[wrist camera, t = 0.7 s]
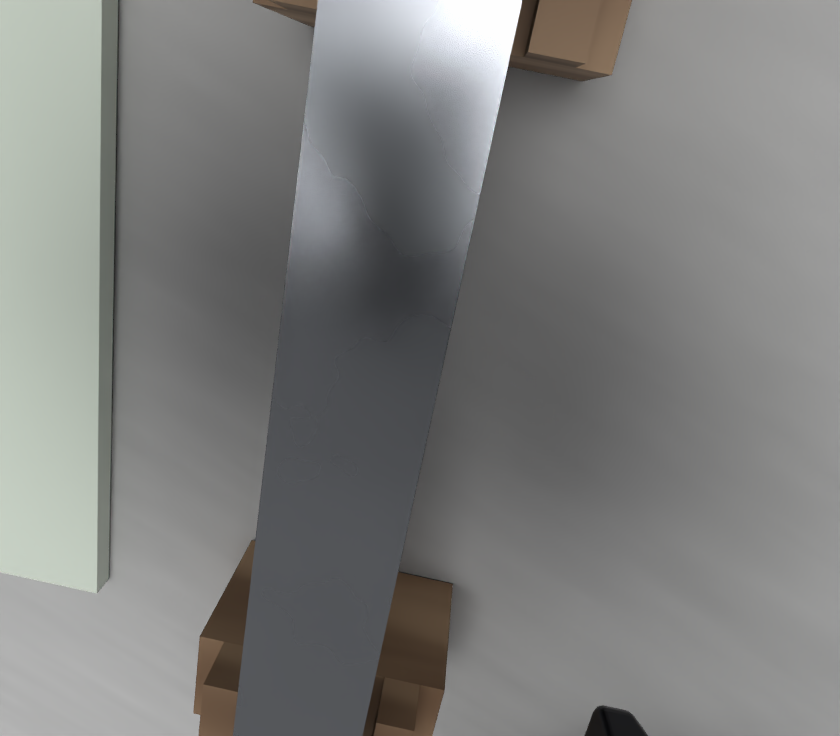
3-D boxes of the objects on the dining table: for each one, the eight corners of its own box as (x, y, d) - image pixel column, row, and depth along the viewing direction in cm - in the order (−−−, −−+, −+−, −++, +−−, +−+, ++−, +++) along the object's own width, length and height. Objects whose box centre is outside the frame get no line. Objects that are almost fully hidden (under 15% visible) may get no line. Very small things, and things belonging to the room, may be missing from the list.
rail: (358, 749, 20) (336, 854, 17) (259, 727, 20) (222, 828, 17) (548, -133, 12) (566, -205, 9) (379, -166, 12) (345, -248, 9)
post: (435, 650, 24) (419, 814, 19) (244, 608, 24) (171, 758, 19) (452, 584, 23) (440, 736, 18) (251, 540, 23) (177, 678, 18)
